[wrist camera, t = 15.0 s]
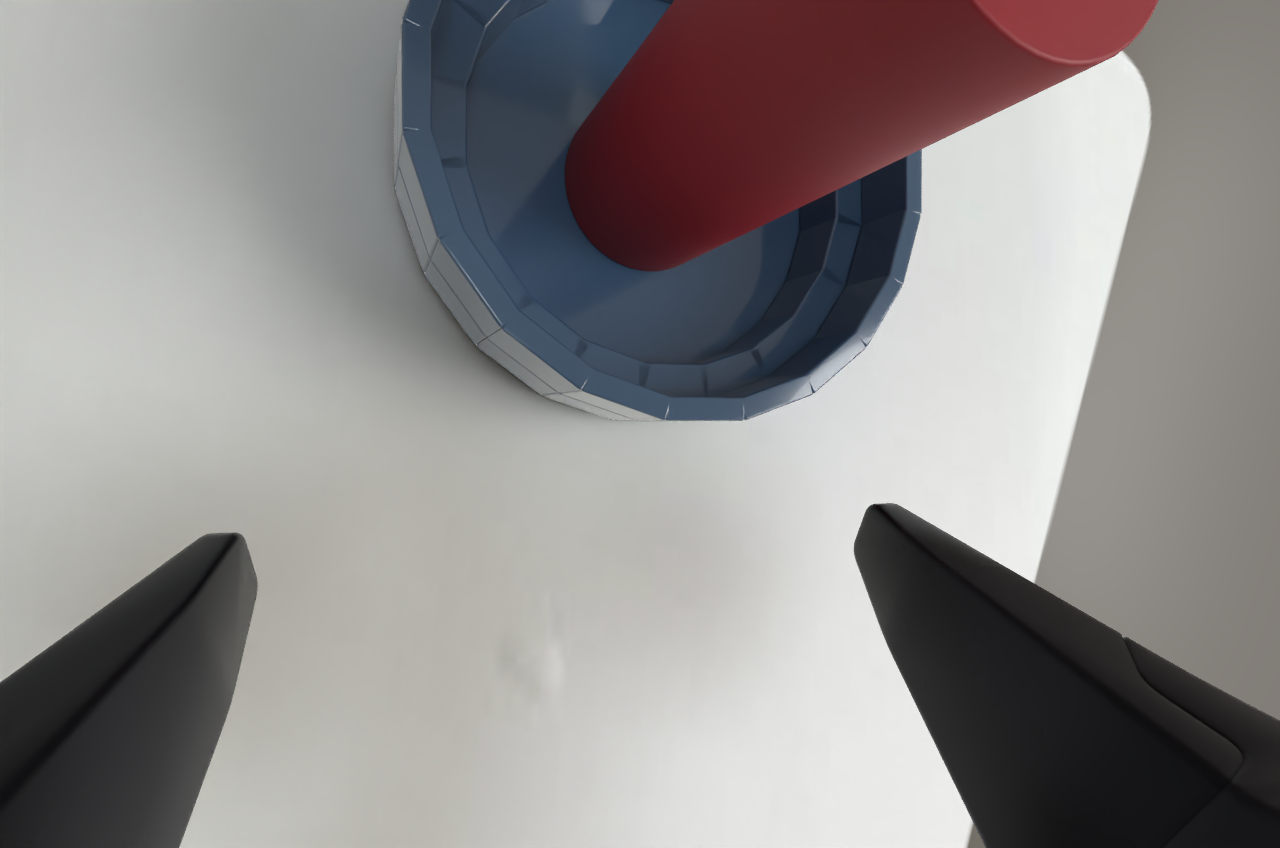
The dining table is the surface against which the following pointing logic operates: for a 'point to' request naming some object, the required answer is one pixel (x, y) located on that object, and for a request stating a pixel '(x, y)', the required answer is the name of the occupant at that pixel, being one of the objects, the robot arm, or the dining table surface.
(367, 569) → the dining table surface
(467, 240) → the bowl
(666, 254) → the candle
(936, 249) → the dining table surface
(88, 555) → the dining table surface
